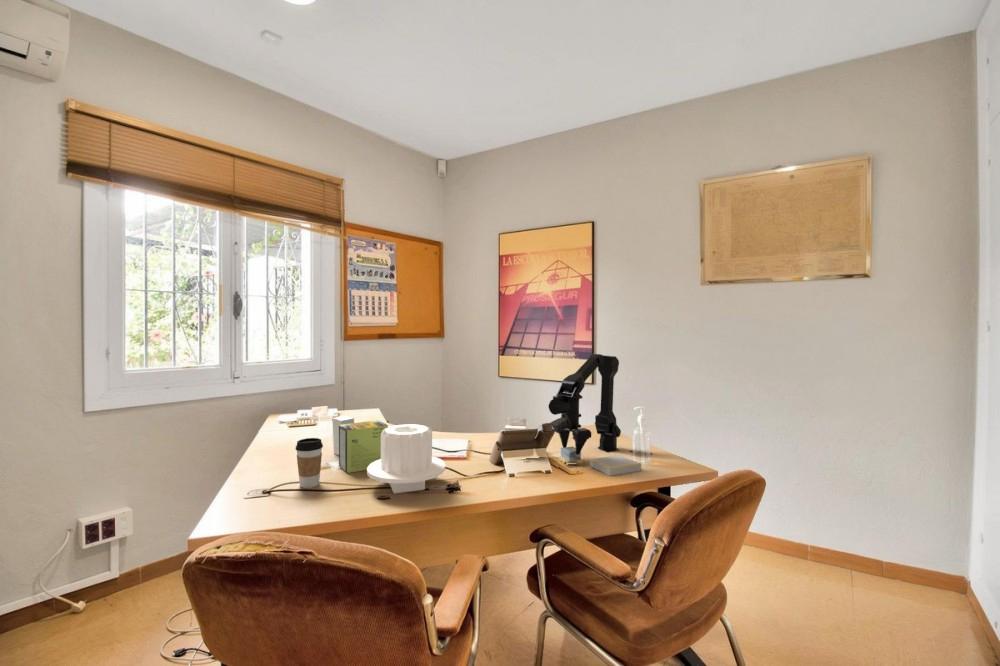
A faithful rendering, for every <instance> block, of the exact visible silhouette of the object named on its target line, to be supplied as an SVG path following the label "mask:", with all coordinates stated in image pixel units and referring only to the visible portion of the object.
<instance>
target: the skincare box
mask: <svg viewBox="0 0 1000 666" xmlns="http://www.w3.org/2000/svg"><path fill="white" fill-rule="evenodd" d="M331 419H332V438H333V439H332V440H333V441H332V442H333V443H332V444H333V454H334V455H336V456H339V425H343V424H351V423H355V418H354V417H350V416H348V415H341V416H337V417H336V416H335V417H332V418H331Z"/></svg>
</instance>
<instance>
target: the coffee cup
mask: <svg viewBox="0 0 1000 666" xmlns="http://www.w3.org/2000/svg"><path fill="white" fill-rule="evenodd" d="M323 447H324V444H323V442H322V439H321V438H318V437H309V438H302V439H300V440H297V442H296V445H295V450H296V462H297V463H296V464H297V471H298V472H297V473H298V480H299V486H300V488H302V487H303V489H310V488H315V487H317V486H319V485H320V481H321V479H320V477H321V476H320V475H321V467H322V466H321V465H322V457H323V453H322V449H323Z"/></svg>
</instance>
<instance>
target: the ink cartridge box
mask: <svg viewBox="0 0 1000 666" xmlns="http://www.w3.org/2000/svg"><path fill="white" fill-rule="evenodd" d="M505 420H506V424H505V426H504V432H505V431H509V430H523V429H526V430H527V419H526V418H523V417H522V418H520V417H519V418H518V417H506V419H505Z"/></svg>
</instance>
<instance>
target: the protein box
mask: <svg viewBox="0 0 1000 666" xmlns="http://www.w3.org/2000/svg"><path fill="white" fill-rule="evenodd" d="M388 426H389V425H388V424H387V423H384V422H383V421H381V420H379V419H374V420H369V421H367V420H366V421H359V422H354V423H351V424H343V425H339V455H338V466H339V467H340V469H342V470H343V471H344V472H345V473H346V474H350V473H358V472H361V471H367V467H368V466H369V465H370V464H371V463H373V462H375V461H377V460H379V459H381V433H382V431H383V430H384V429H385V428H388Z"/></svg>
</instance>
